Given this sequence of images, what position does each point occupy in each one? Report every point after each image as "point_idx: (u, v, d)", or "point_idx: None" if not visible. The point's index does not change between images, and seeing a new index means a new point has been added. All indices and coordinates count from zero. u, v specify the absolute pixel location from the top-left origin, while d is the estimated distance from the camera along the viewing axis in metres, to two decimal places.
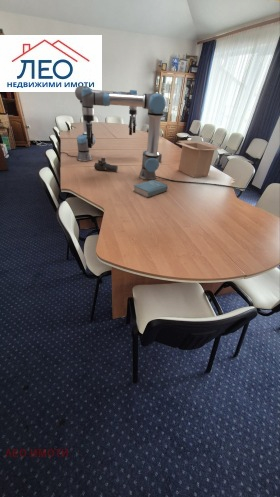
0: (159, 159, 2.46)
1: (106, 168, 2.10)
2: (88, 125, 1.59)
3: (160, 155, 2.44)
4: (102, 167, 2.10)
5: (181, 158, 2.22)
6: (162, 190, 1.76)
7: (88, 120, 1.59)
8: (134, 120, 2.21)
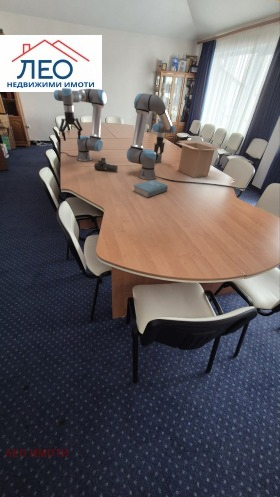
0: (159, 159, 2.46)
1: (106, 168, 2.10)
2: (155, 145, 2.35)
3: (160, 155, 2.44)
4: (102, 167, 2.10)
5: (181, 158, 2.22)
6: (162, 190, 1.76)
7: (157, 140, 2.34)
8: None
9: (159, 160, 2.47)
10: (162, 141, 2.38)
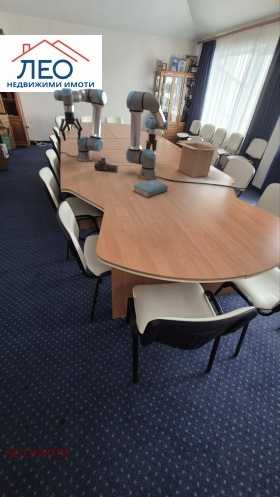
0: None
1: (106, 168, 2.10)
2: (147, 142, 2.25)
3: None
4: (102, 167, 2.10)
5: (181, 158, 2.22)
6: (162, 190, 1.76)
7: (149, 137, 2.24)
8: None
9: None
10: (154, 138, 2.28)
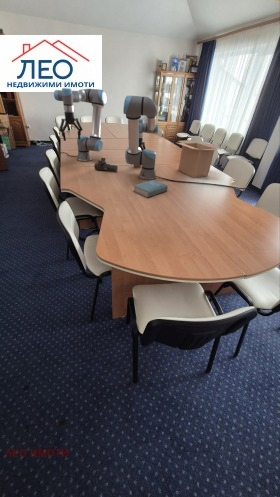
0: None
1: (106, 168, 2.10)
2: None
3: None
4: (102, 167, 2.10)
5: (181, 158, 2.22)
6: (162, 190, 1.76)
7: None
8: None
9: (139, 165, 2.28)
10: (141, 142, 2.18)
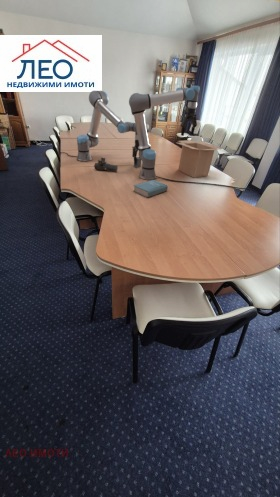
0: (138, 164, 2.27)
1: (106, 168, 2.10)
2: (185, 116, 1.90)
3: (139, 159, 2.25)
4: (102, 167, 2.10)
5: (181, 158, 2.22)
6: (162, 190, 1.76)
7: (188, 112, 1.90)
8: (136, 150, 2.21)
9: (139, 165, 2.28)
10: (193, 114, 1.94)
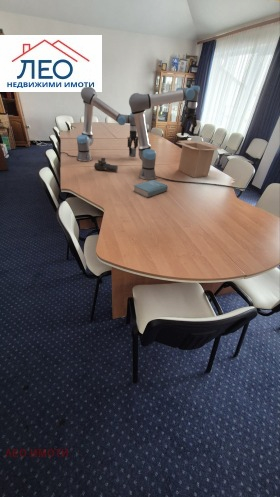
0: (133, 153, 2.42)
1: (106, 168, 2.10)
2: (185, 116, 1.90)
3: (134, 149, 2.40)
4: (102, 167, 2.10)
5: (181, 158, 2.22)
6: (162, 190, 1.76)
7: (188, 112, 1.90)
8: None
9: (133, 154, 2.43)
10: (193, 114, 1.94)
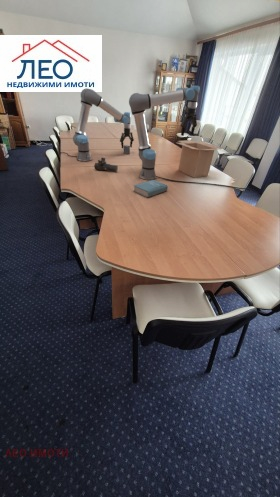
0: (127, 150, 2.68)
1: (106, 168, 2.10)
2: (185, 116, 1.90)
3: (128, 147, 2.67)
4: (102, 167, 2.10)
5: (181, 158, 2.22)
6: (162, 190, 1.76)
7: (188, 112, 1.90)
8: None
9: (127, 151, 2.69)
10: (193, 114, 1.94)
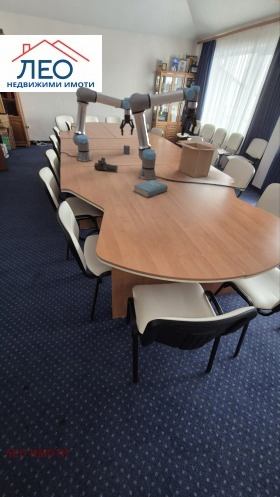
0: (127, 150, 2.68)
1: (106, 168, 2.10)
2: (185, 116, 1.90)
3: (128, 147, 2.67)
4: (102, 167, 2.10)
5: (181, 158, 2.22)
6: (162, 190, 1.76)
7: (188, 112, 1.90)
8: None
9: (127, 151, 2.69)
10: (193, 114, 1.94)
